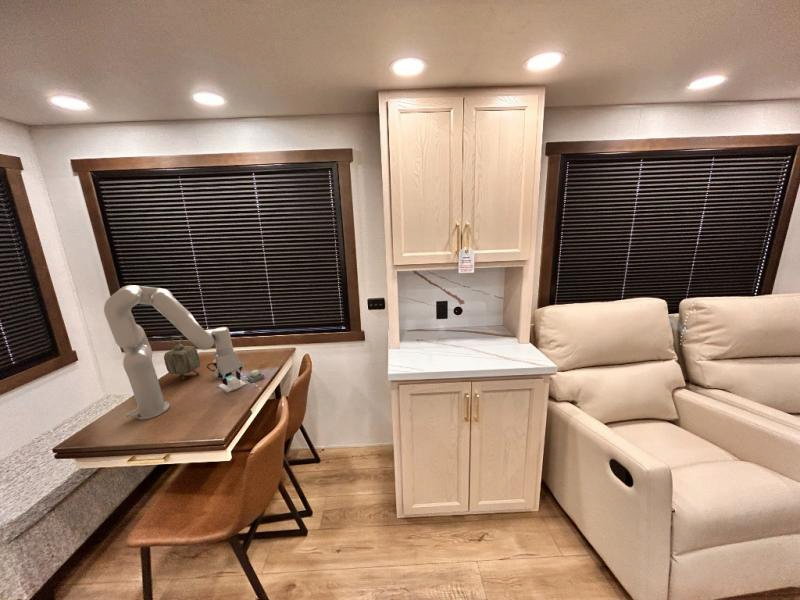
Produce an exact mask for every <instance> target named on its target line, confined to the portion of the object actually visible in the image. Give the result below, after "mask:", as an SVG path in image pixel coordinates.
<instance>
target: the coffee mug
mask: <svg viewBox="0 0 800 600" xmlns="http://www.w3.org/2000/svg"><path fill="white" fill-rule="evenodd" d="M210 365H213V366H214V368H215V369H211V368H210V367H209V366H210ZM206 368H207V370H210V371H212V372H213V373H214V372H215V371H216V369H217V363H216V358H215V359H214V360H213V362H210V363H208V364H207V366H206ZM218 374H219V375H221V373H220V372H218ZM232 374H233V371H232V372H229V373H226V374H225V378H226V377H228V376H231V375H232Z"/></svg>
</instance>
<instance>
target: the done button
mask: <svg viewBox="0 0 800 600" xmlns="http://www.w3.org/2000/svg"><path fill="white" fill-rule="evenodd" d="M259 372H260V371H259V369H253V370H251V371H250V375H251V377H252V378H255V377H257V376H259Z"/></svg>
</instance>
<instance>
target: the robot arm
mask: <svg viewBox="0 0 800 600" xmlns="http://www.w3.org/2000/svg"><path fill="white" fill-rule="evenodd" d="M138 304H139V305H146V306H147V305H148V306H152V307H153V308H154V309H155V310H156V311H157V312H158V313H160V314H161V315H162V316H163V317H165V318H166V319H167V321H169V322H170V323H171V324H172V325H173V326H174V327H175V328H176V329H177V330H178V331H179V332H180V333H181V334H182V335H183V336H184V337H185V338H186V339H188V341H190V342H191V343H192V344H193V345H194V347H195V346H196V348H198V349H199V350H202V351H204V350H206V351H207V350H209V349H211V348H212V347H213V346H215V351H214V352H213V354H214V355H216V356H215V359H216V363H217V369H216V368H215V372H214V371H213V374H212V376H213V377H217V378H219V379H221V381H222V383H223V384H225V385H228V384H227V380H226V377H225V374H226V373H229V372H232V373H233V372H234V371H235V378H237V379H238V380H240V379H241V378H242V375H241V372H242V370H243V367H244V366H245V362H243V361H241V360H240V358H239V356H238V353H237V351H236V350H235V349H234V347H233V342H232V341H233V340H232V338H231V333H230V329H229V328H228V327H227V326H221V327H216V328H213V329H204V328H203V327H202V325H200V324H199V323H198V321H197V320H196V319H195V317H194V316H193V314H192V313H191V312H190V311H189V310H188V309H187V308H186V307H185V306H183V305H182V303H181V302H179V301H178V300H177V299H176V298H175V297H174V295H173V294H172V292H171V291H170V290H168V289H167V288H161V287H151V286H141V285H132V284H129V285H125V286H122V287H121V288H119V289H117V291H115V292H114V293H113V294H111V296H110V297H108V298H107V299H106V301H105V303H104V305H103V312H104V316H105V318H106V321H107V323H108V327H109V329H110V332H111V334H112V337H113V339H114V343H115V344H116V345H117V346H118V347H120V349H123V351H124V354H125V356H124V358H123V361H122V366H123V369H124V371H125V373H126V376H127V378H128V381H129V383H130V387H131V389H132V392H133V396H134V399H135V402H136V404H137V406H136V408H135V409H133V410H131V411H129V412H125V416H126V418H133V417H136V419H137V420H140V421H141V420H149V419H153V418H155V417H158V416H160V415H162V414H164V413H166V411H168V410H169V409H170V407H171V405H170V402H168V401H165V398H164V395H163V392H162V389H161V386H160V385H161V384H160V382H159V379H158V375H157V372H156V369H155V366H154V364H153V349H152V347H151V344H150V342H149V339H148V337H147V334H146V333H145V330H144V328H143V327H142V326H141V325H139V324H137V322H136V320H135V317H134V314H133V313H132V308H133V307H135V306H136V305H138ZM218 372H220V373H221V375H219V374H218Z"/></svg>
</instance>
